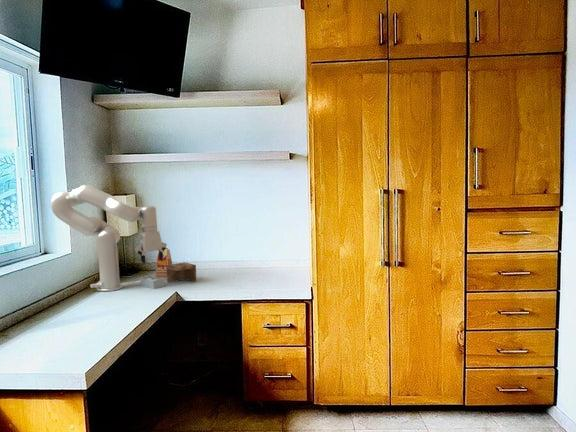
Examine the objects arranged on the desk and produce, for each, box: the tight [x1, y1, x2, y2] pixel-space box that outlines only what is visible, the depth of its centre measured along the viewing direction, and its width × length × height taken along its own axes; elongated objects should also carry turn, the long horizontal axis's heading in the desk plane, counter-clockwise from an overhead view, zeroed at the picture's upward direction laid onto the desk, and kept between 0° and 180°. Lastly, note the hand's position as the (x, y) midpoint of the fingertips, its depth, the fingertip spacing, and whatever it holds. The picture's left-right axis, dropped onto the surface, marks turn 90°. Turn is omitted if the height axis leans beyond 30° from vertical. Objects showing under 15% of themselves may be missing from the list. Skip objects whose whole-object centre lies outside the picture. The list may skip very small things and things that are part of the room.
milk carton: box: [154, 245, 173, 280], centre depth 258 cm, size 9×9×20 cm
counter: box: [166, 261, 197, 283], centre depth 245 cm, size 12×12×10 cm
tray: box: [140, 275, 165, 290], centre depth 237 cm, size 12×6×4 cm, turn 50°
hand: (152, 261), depth 236 cm, fingers open, 9 cm apart
